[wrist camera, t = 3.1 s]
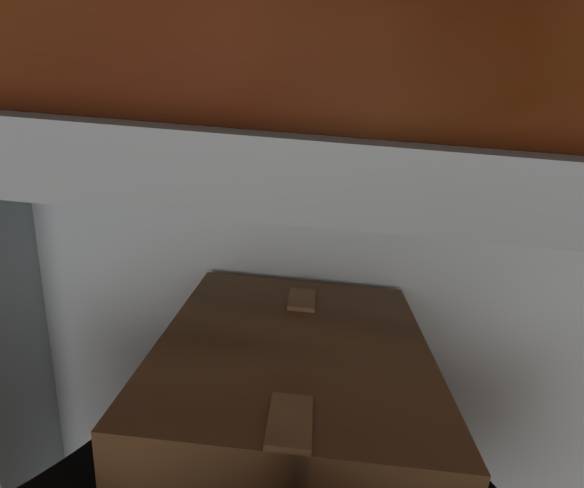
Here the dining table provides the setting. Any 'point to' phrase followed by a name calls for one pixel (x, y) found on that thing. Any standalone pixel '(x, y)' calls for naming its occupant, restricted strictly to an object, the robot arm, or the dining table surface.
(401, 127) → the dining table surface
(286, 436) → the cardboard box
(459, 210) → the bay
